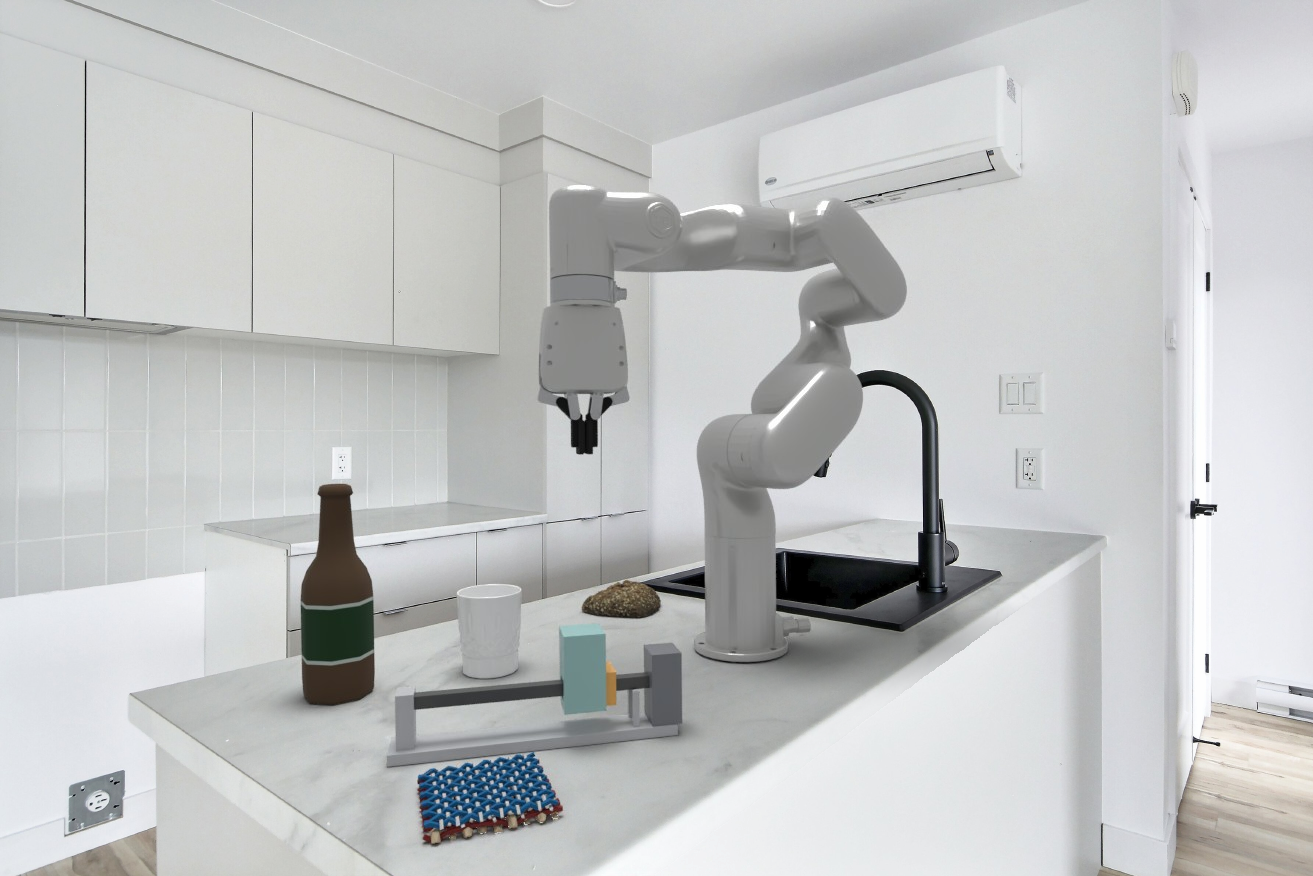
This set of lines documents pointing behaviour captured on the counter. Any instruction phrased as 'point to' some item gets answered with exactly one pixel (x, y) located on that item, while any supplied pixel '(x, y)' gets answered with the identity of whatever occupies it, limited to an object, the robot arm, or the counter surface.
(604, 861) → the counter surface
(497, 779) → the woven mat
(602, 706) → the teal sliding block
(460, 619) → the white cup
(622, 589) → the bread roll
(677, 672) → the teal block rod stand
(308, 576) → the beer bottle
